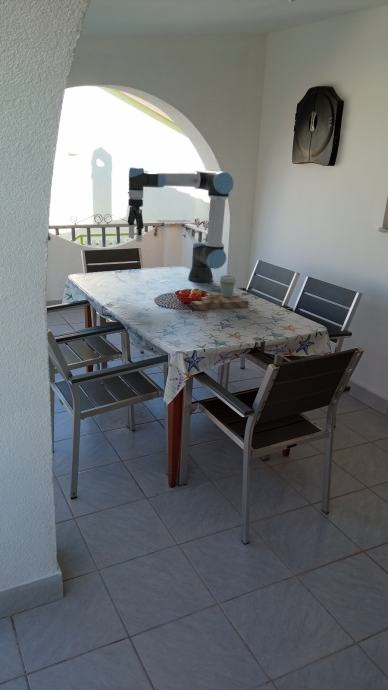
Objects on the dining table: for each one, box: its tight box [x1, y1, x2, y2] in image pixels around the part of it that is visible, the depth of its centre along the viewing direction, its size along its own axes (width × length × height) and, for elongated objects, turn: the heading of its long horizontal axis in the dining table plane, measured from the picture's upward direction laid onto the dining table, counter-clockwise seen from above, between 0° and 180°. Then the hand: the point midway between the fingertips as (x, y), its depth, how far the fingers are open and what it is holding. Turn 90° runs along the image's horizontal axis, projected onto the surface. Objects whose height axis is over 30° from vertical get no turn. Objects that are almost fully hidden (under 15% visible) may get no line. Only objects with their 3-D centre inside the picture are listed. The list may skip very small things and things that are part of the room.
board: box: [188, 295, 249, 311], centre depth 263 cm, size 30×10×3 cm, turn 116°
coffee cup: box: [219, 274, 236, 297], centre depth 276 cm, size 8×8×12 cm
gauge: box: [200, 291, 222, 303], centre depth 258 cm, size 12×6×4 cm, turn 126°
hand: (135, 239), depth 275 cm, fingers open, 13 cm apart
